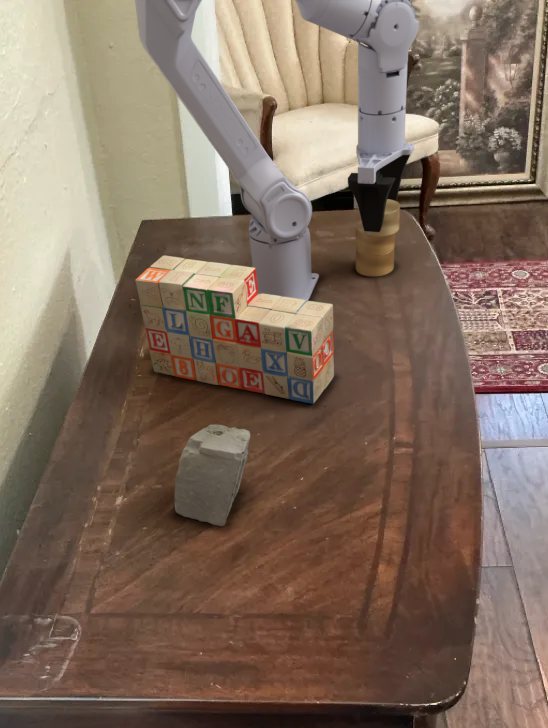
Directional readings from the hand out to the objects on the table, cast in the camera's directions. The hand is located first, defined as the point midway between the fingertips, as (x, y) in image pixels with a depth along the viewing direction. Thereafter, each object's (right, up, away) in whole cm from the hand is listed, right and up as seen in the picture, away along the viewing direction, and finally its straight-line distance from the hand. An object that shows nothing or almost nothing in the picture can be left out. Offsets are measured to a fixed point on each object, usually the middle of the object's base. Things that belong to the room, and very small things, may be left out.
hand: (379, 218), depth 113 cm
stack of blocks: (-18, -23, -11) cm, 31 cm away
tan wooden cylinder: (0, -1, +1) cm, 1 cm away
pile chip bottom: (0, -5, +6) cm, 7 cm away
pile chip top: (0, -2, +4) cm, 5 cm away
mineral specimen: (-20, -38, -27) cm, 51 cm away
